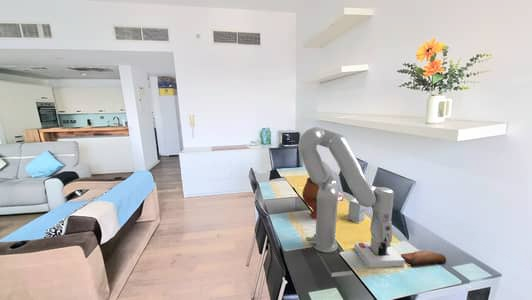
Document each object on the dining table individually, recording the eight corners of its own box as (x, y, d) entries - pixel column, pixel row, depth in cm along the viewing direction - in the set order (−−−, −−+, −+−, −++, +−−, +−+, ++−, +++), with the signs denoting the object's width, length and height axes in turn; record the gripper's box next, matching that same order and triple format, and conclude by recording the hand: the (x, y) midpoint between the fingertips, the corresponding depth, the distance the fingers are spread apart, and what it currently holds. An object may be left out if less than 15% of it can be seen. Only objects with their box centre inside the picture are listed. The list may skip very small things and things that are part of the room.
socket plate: (368, 267, 96) (369, 259, 96) (354, 248, 110) (354, 241, 110) (404, 266, 98) (405, 258, 97) (385, 247, 111) (385, 240, 111)
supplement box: (358, 223, 135) (360, 204, 133) (347, 219, 140) (348, 200, 138) (364, 220, 139) (366, 201, 137) (353, 215, 145) (355, 197, 143)
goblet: (299, 221, 137) (301, 182, 133) (303, 208, 155) (305, 174, 151) (331, 226, 132) (334, 185, 127) (332, 212, 150) (334, 176, 146)
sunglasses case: (429, 251, 108) (437, 244, 104) (440, 266, 103) (449, 260, 99) (397, 255, 105) (404, 248, 101) (406, 271, 100) (414, 264, 96)
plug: (386, 256, 101) (388, 240, 100) (376, 256, 101) (377, 241, 100) (380, 249, 106) (381, 234, 105) (370, 250, 106) (371, 234, 105)
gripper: (402, 223, 92) (397, 263, 95) (379, 206, 109) (375, 240, 112) (385, 224, 92) (380, 263, 95) (364, 207, 109) (361, 241, 112)
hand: (378, 251), depth 103 cm, fingers closed on plug, 4 cm apart
